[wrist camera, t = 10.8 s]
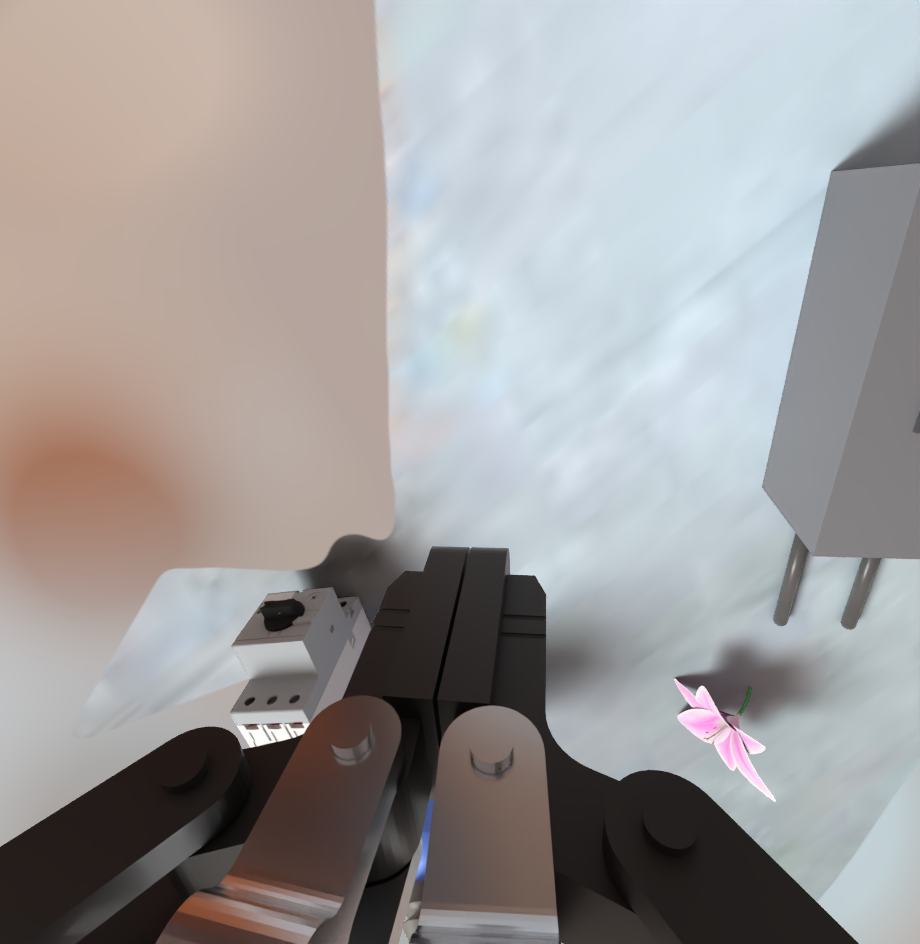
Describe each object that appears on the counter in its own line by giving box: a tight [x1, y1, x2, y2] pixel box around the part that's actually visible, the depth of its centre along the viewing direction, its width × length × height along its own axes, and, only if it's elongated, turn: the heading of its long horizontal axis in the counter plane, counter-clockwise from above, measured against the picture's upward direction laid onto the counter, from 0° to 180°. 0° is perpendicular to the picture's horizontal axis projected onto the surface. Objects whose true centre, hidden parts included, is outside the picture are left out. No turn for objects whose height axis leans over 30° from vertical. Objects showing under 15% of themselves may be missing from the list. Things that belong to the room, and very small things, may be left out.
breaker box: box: [762, 163, 920, 629], centre depth 37 cm, size 39×14×11 cm, turn 4°
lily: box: [674, 678, 776, 802], centre depth 54 cm, size 12×12×10 cm
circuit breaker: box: [230, 587, 372, 747], centre depth 53 cm, size 8×14×15 cm, turn 14°
